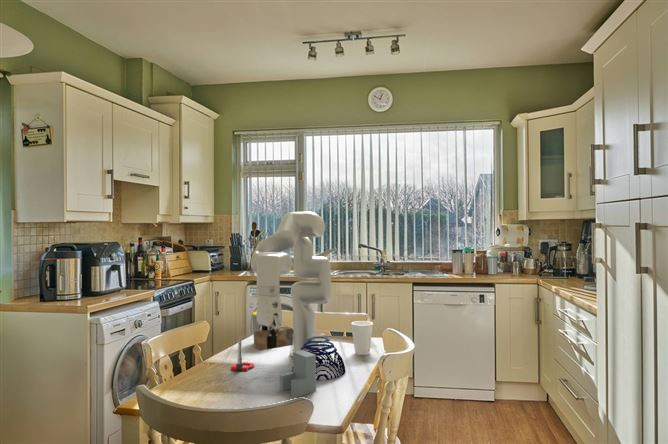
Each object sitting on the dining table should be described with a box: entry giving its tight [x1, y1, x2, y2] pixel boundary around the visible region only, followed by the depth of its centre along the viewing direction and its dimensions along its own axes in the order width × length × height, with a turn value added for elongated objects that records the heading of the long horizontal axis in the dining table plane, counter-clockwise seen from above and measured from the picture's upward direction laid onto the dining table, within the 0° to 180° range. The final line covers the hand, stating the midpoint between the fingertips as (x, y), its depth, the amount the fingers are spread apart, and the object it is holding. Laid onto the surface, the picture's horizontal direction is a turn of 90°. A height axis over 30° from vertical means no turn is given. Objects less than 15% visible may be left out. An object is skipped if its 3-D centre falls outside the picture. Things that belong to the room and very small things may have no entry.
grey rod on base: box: [230, 336, 255, 372], centre depth 178 cm, size 8×13×9 cm
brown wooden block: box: [253, 326, 293, 352], centre depth 150 cm, size 12×4×6 cm, turn 126°
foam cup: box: [350, 320, 374, 356], centre depth 197 cm, size 10×9×13 cm
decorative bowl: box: [291, 332, 346, 382], centre depth 171 cm, size 20×20×14 cm
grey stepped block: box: [279, 350, 317, 399], centre depth 152 cm, size 10×9×12 cm
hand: (268, 346), depth 149 cm, fingers closed on brown wooden block, 4 cm apart
